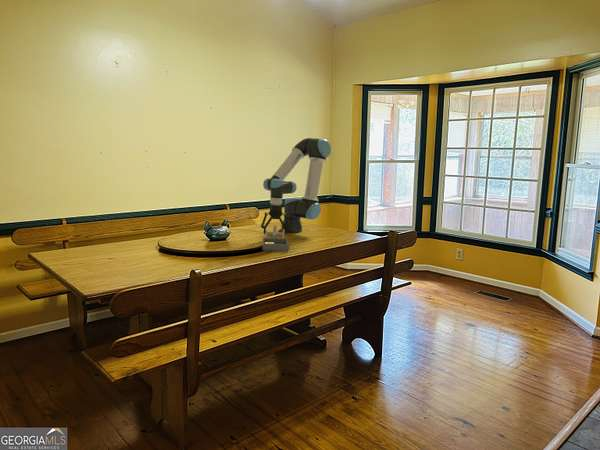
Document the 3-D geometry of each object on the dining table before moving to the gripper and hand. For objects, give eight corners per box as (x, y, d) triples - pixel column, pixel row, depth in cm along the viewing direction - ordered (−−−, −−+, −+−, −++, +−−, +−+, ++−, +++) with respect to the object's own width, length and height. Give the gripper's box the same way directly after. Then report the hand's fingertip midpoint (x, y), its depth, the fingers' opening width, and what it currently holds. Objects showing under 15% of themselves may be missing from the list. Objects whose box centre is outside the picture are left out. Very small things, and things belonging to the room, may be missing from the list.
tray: (262, 244, 270) (262, 237, 269) (287, 245, 271) (287, 238, 271) (262, 250, 255) (262, 244, 255) (288, 251, 257) (288, 244, 256)
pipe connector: (283, 240, 283) (284, 224, 281) (281, 243, 274) (281, 227, 272) (267, 238, 284) (268, 223, 282) (265, 242, 275) (265, 226, 273)
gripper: (257, 204, 269) (256, 240, 274) (295, 206, 272) (292, 241, 276) (257, 202, 277) (256, 237, 281) (294, 204, 279) (292, 238, 283)
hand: (274, 239), depth 279 cm, fingers closed on pipe connector, 10 cm apart
